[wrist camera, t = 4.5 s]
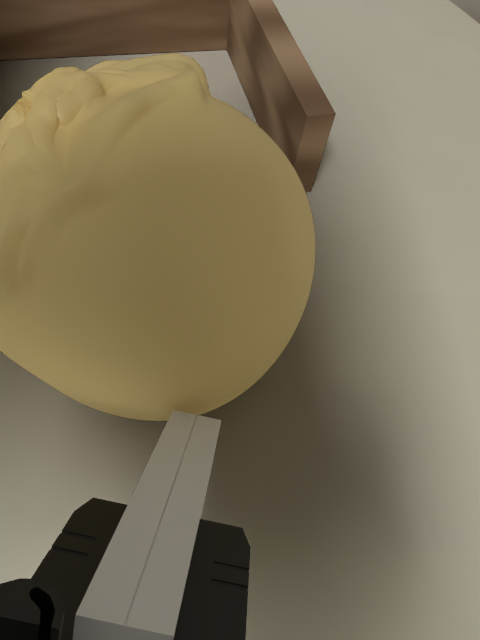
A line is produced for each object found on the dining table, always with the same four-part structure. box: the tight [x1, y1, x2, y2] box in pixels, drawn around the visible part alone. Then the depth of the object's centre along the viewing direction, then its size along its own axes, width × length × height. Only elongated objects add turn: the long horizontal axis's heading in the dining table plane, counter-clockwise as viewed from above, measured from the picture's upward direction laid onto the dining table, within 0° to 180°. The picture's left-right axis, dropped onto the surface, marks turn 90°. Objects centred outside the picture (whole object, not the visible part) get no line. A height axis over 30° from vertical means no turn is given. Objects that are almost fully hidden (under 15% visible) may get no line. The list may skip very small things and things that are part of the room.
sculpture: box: [0, 53, 316, 421], centre depth 15 cm, size 11×12×11 cm
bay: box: [0, 0, 336, 192], centre depth 24 cm, size 16×20×5 cm
